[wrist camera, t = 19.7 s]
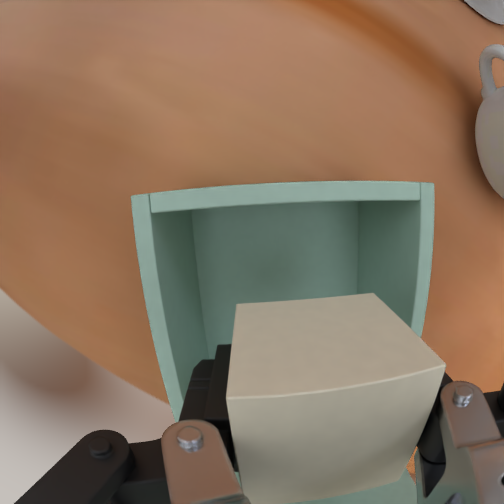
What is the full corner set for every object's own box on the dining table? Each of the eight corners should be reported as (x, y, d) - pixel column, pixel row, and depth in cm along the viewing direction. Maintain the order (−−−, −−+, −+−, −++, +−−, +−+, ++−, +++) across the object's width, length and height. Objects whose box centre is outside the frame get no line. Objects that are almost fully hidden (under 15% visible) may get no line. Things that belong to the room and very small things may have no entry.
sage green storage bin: (180, 190, 19) (130, 195, 11) (363, 181, 19) (434, 182, 11) (206, 384, 23) (189, 464, 14) (354, 372, 23) (390, 444, 14)
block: (235, 303, 9) (225, 398, 5) (373, 292, 9) (447, 364, 5) (246, 408, 10) (244, 506, 6) (360, 396, 10) (398, 481, 6)
